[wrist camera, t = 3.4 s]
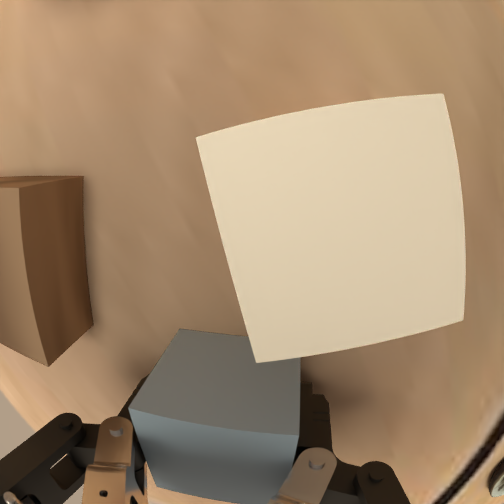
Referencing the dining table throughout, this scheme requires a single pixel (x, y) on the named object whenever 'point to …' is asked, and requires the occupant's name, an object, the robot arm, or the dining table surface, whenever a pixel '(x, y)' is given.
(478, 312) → the dining table surface
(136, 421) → the blue cube
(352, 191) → the cream cube
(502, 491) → the salad plate
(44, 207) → the walnut base
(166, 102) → the dining table surface
